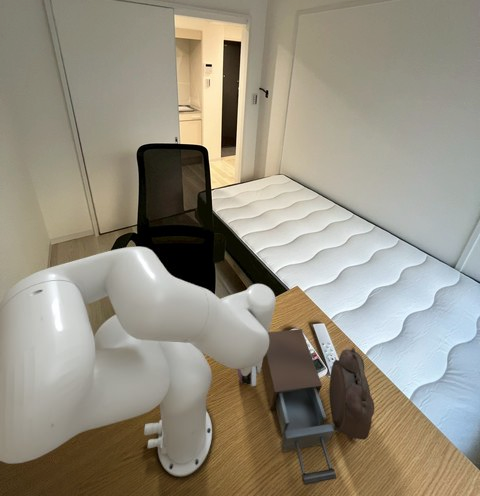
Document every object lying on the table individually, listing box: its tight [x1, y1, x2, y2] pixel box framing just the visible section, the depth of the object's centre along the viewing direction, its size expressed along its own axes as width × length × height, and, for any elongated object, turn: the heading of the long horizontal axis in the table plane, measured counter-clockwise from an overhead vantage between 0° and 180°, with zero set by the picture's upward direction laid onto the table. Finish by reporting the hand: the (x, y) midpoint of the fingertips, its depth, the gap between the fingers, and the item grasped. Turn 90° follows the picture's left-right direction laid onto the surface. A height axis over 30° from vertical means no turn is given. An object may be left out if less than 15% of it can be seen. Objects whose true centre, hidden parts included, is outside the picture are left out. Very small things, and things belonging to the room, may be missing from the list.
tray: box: [275, 388, 337, 486], centre depth 59 cm, size 20×11×7 cm, turn 8°
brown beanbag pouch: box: [328, 347, 376, 441], centre depth 60 cm, size 15×7×20 cm, turn 168°
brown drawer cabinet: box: [261, 328, 323, 410], centre depth 70 cm, size 15×13×9 cm
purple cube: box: [237, 369, 243, 382], centre depth 68 cm, size 4×4×4 cm
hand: (245, 370), depth 69 cm, fingers closed on purple cube, 4 cm apart
